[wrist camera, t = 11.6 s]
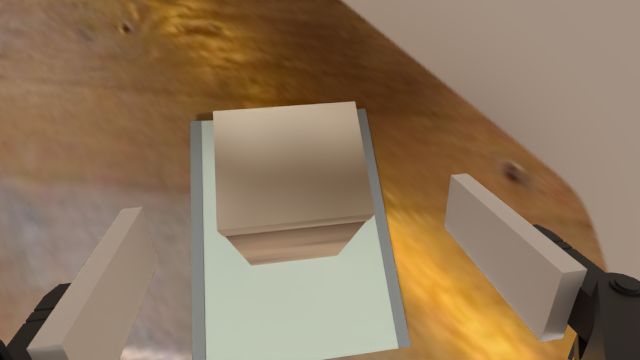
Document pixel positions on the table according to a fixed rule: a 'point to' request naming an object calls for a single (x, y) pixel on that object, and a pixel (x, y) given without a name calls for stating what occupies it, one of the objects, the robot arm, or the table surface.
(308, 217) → the beige block
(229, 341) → the mat
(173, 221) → the table surface
